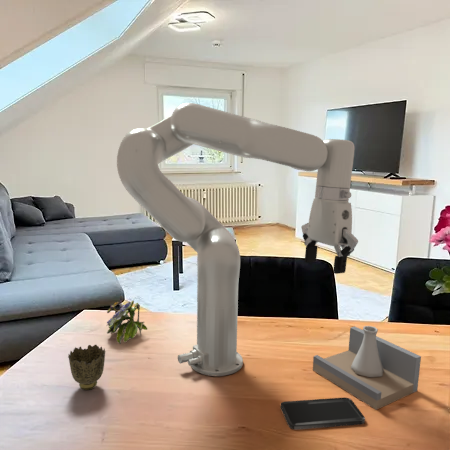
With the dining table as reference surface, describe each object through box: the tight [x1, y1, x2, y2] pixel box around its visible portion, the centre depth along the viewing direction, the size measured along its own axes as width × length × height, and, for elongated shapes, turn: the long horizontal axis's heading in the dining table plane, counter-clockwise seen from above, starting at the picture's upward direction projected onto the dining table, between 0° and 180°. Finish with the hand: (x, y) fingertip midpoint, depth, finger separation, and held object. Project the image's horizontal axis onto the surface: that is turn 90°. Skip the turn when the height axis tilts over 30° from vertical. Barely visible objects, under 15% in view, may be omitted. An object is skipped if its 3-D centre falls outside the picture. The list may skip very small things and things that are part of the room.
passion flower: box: [106, 300, 148, 345], centre depth 116 cm, size 11×11×12 cm
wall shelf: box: [312, 325, 422, 410], centre depth 95 cm, size 14×18×8 cm
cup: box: [67, 344, 106, 391], centre depth 90 cm, size 8×7×8 cm
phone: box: [280, 397, 366, 430], centre depth 83 cm, size 8×1×15 cm
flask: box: [351, 325, 384, 377], centre depth 95 cm, size 7×7×10 cm
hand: (324, 267), depth 99 cm, fingers open, 9 cm apart
